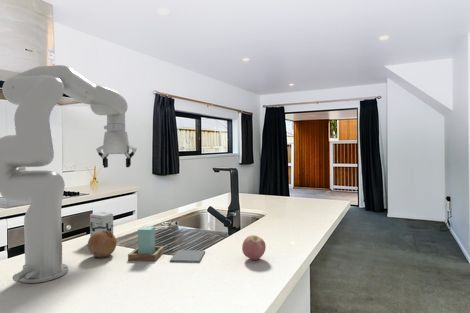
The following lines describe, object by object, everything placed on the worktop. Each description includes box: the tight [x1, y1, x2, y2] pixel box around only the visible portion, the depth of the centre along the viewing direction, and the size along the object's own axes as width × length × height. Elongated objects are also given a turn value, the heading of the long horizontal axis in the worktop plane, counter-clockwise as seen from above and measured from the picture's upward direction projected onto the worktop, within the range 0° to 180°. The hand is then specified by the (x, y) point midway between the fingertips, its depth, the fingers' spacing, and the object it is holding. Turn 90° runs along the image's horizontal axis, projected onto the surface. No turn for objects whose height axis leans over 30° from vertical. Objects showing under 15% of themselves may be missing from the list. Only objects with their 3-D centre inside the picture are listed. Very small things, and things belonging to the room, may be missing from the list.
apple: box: [241, 234, 267, 261], centre depth 103 cm, size 8×8×8 cm
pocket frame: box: [127, 245, 165, 262], centre depth 107 cm, size 10×10×2 cm
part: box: [137, 225, 156, 254], centre depth 107 cm, size 4×4×10 cm
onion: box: [87, 230, 117, 259], centre depth 108 cm, size 10×9×10 cm
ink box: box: [89, 211, 114, 238], centre depth 124 cm, size 9×5×12 cm, turn 62°
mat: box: [169, 249, 206, 263], centre depth 106 cm, size 10×10×1 cm
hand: (116, 167), depth 133 cm, fingers open, 9 cm apart
